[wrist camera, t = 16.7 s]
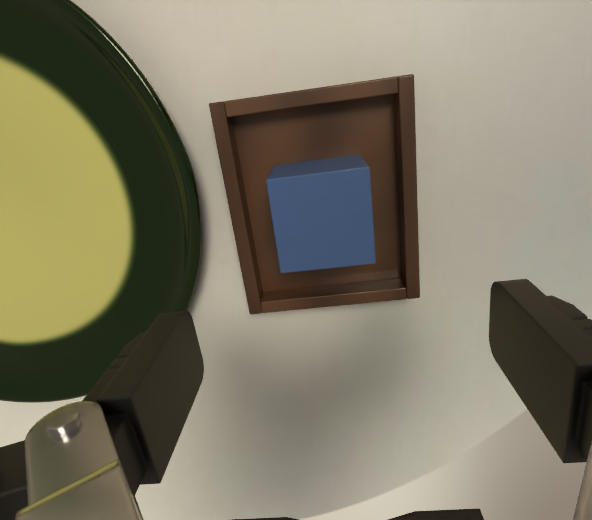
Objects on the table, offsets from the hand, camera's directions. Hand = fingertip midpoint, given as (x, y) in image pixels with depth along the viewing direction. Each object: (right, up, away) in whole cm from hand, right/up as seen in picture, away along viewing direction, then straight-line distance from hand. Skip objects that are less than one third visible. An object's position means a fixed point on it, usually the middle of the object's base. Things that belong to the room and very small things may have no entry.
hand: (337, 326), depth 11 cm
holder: (+1, +6, +15) cm, 16 cm away
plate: (-21, +5, +16) cm, 27 cm away
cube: (0, +5, +14) cm, 15 cm away
